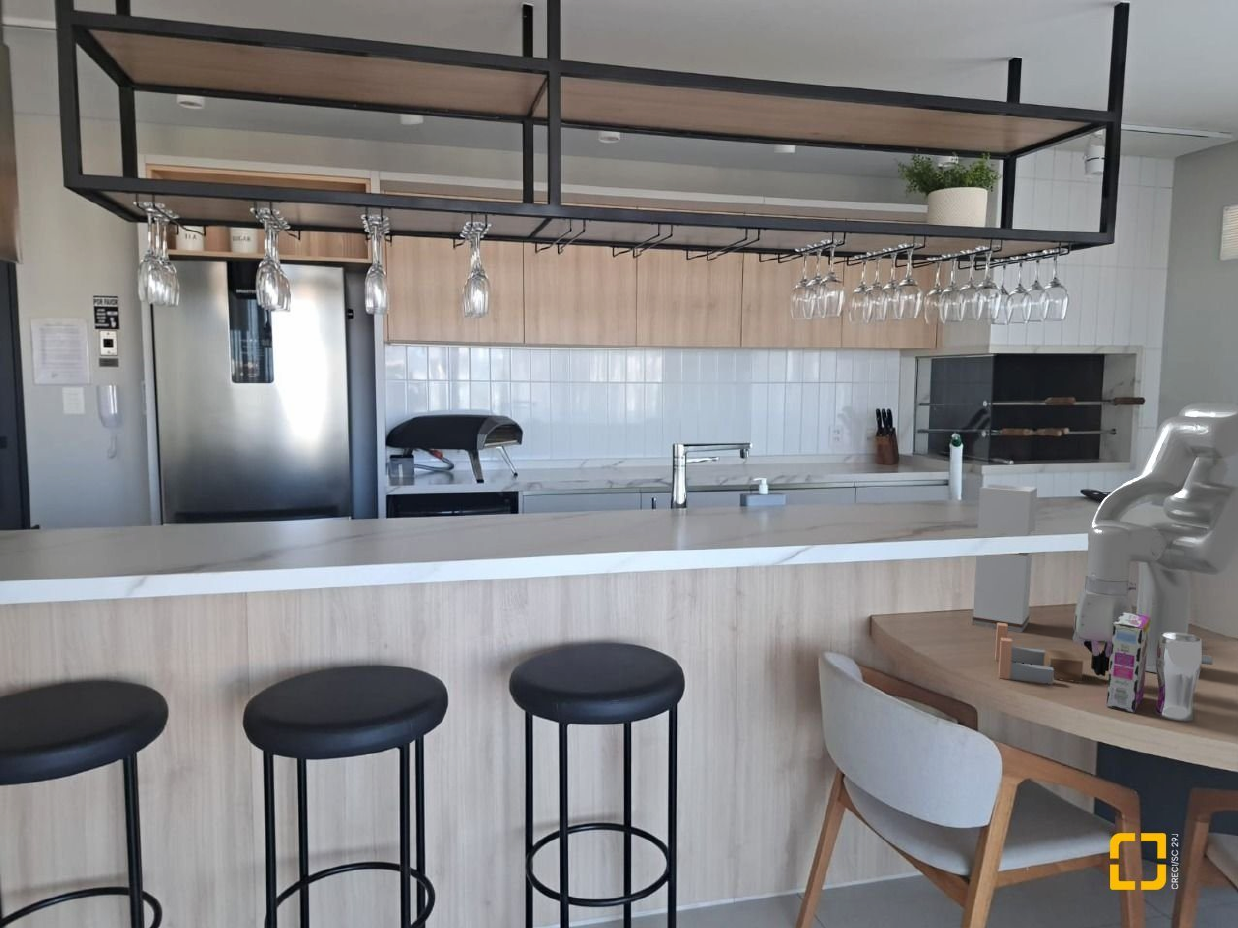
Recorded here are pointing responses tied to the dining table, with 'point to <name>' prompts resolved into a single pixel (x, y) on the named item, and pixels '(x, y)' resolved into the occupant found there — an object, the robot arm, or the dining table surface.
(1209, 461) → the robot arm
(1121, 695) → the milk carton
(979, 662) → the dining table surface
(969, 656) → the dining table surface
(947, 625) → the dining table surface
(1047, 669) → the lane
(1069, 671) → the walnut block
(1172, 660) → the beer glass
